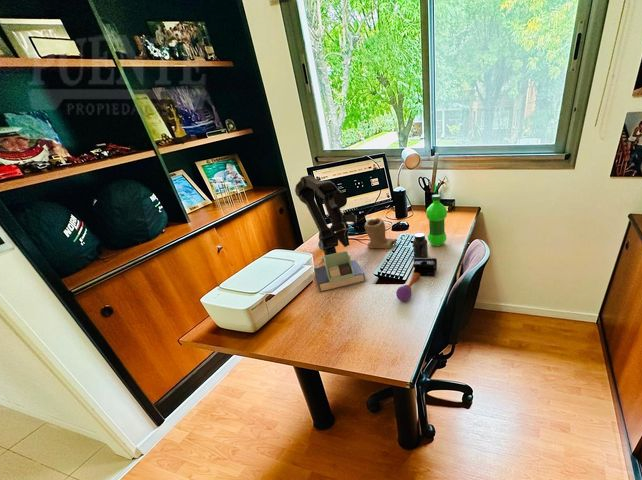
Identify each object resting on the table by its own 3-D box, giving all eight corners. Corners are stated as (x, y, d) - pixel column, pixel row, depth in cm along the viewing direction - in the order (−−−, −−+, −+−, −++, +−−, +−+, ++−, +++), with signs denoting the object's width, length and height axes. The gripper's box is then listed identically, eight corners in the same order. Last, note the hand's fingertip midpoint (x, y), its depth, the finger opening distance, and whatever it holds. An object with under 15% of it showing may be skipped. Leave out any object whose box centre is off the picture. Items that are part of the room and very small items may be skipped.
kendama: (424, 271, 139) (409, 292, 123) (422, 283, 142) (407, 305, 126) (411, 268, 140) (394, 288, 124) (409, 280, 144) (393, 301, 128)
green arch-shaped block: (327, 276, 142) (322, 255, 137) (351, 271, 145) (347, 250, 139) (330, 282, 138) (324, 261, 132) (354, 277, 140) (350, 255, 134)
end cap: (437, 269, 148) (436, 255, 144) (435, 276, 143) (435, 262, 139) (415, 269, 150) (414, 255, 146) (413, 276, 145) (412, 262, 141)
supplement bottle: (411, 257, 161) (410, 234, 154) (424, 254, 163) (423, 231, 156) (417, 262, 156) (416, 238, 149) (430, 259, 158) (429, 235, 151)
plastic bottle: (444, 248, 166) (444, 198, 152) (425, 247, 169) (422, 198, 155) (449, 240, 174) (449, 192, 159) (430, 239, 177) (428, 192, 163)
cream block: (329, 276, 141) (327, 267, 139) (339, 273, 142) (337, 265, 140) (331, 280, 138) (329, 271, 136) (341, 277, 139) (339, 269, 137)
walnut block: (340, 273, 143) (338, 265, 140) (349, 271, 144) (347, 262, 141) (342, 277, 139) (340, 269, 137) (351, 275, 140) (349, 266, 138)
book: (316, 276, 152) (313, 268, 150) (357, 266, 157) (355, 259, 155) (320, 291, 140) (318, 283, 138) (365, 281, 145) (363, 273, 142)
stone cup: (364, 250, 172) (359, 223, 163) (372, 241, 181) (368, 215, 172) (391, 252, 168) (387, 224, 159) (398, 243, 177) (395, 215, 168)
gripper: (349, 204, 132) (362, 241, 137) (353, 206, 150) (365, 239, 155) (323, 213, 133) (337, 249, 137) (331, 214, 151) (343, 247, 155)
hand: (347, 246), depth 146 cm, fingers open, 9 cm apart
